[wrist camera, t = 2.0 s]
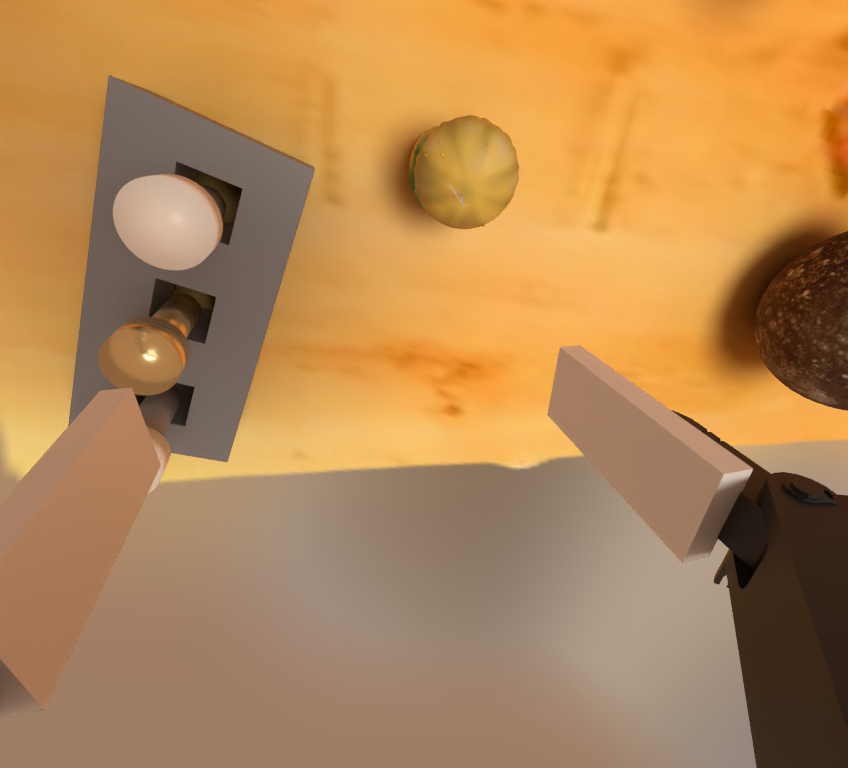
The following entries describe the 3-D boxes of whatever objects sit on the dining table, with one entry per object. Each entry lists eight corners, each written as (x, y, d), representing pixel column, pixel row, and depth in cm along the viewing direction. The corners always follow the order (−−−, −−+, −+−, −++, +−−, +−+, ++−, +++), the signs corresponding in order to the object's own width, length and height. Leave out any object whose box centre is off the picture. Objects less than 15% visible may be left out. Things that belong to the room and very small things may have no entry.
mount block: (103, 391, 39) (67, 434, 33) (148, 90, 30) (109, 75, 24) (238, 420, 44) (227, 462, 38) (313, 166, 35) (314, 170, 29)
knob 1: (165, 222, 29) (107, 251, 20) (177, 156, 27) (119, 158, 19) (232, 247, 30) (204, 282, 22) (247, 186, 29) (223, 200, 21)
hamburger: (493, 174, 38) (560, 182, 28) (438, 234, 40) (483, 263, 29) (438, 100, 34) (492, 79, 24) (379, 169, 36) (406, 177, 26)
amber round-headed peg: (149, 324, 32) (93, 385, 23) (159, 275, 30) (102, 321, 22) (207, 340, 33) (173, 402, 25) (218, 293, 32) (186, 343, 23)
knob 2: (130, 411, 34) (75, 493, 26) (139, 366, 33) (82, 438, 25) (189, 423, 36) (154, 503, 28) (200, 380, 35) (166, 452, 26)
